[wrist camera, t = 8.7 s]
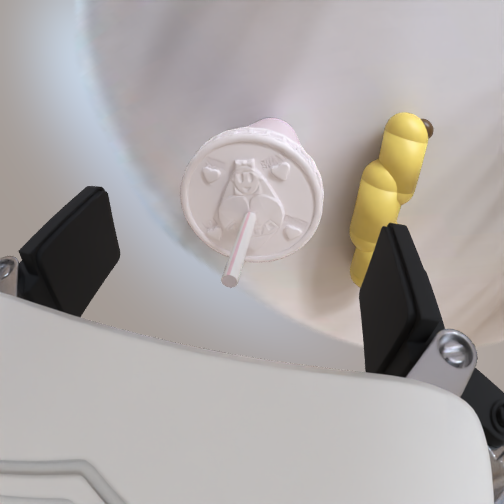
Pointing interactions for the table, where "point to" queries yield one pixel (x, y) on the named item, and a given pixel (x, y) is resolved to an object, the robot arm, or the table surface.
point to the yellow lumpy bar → (387, 185)
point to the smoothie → (252, 195)
